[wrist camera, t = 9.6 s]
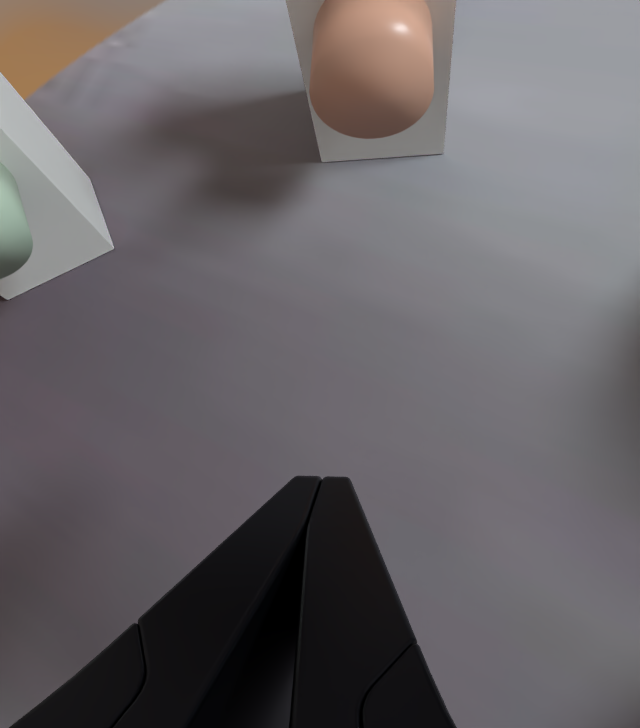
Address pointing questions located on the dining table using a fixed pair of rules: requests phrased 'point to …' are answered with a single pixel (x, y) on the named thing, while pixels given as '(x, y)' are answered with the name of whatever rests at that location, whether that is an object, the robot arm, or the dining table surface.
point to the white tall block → (410, 142)
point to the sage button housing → (47, 198)
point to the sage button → (12, 226)
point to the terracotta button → (372, 65)
